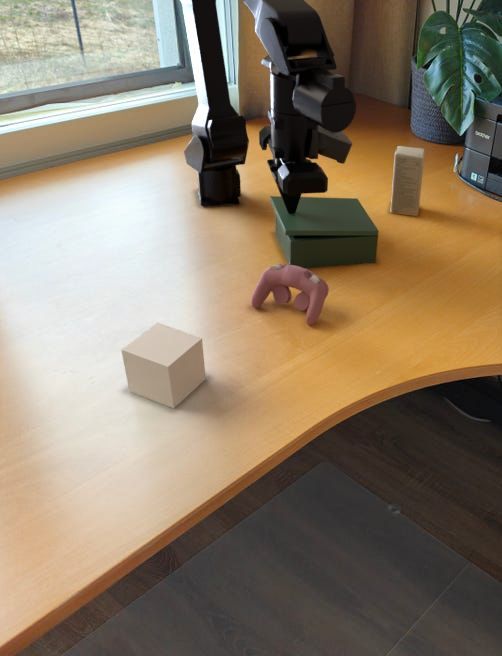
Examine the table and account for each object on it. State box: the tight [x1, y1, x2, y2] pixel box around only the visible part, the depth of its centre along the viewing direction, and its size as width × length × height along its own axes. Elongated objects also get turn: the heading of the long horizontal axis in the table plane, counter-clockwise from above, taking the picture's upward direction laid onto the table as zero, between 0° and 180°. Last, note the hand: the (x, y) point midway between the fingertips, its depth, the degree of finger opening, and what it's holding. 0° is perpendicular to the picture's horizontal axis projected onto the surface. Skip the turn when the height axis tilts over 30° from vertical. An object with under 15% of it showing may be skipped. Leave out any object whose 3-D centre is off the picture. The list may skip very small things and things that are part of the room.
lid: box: [269, 195, 380, 237], centre depth 103 cm, size 14×12×1 cm
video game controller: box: [250, 263, 330, 326], centre depth 90 cm, size 10×5×7 cm, turn 71°
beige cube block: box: [120, 322, 207, 409], centre depth 75 cm, size 6×6×6 cm
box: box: [389, 145, 426, 217], centre depth 118 cm, size 5×4×11 cm
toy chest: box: [274, 212, 379, 270], centre depth 105 cm, size 14×12×5 cm
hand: (291, 212), depth 100 cm, fingers closed, pressing on lid
